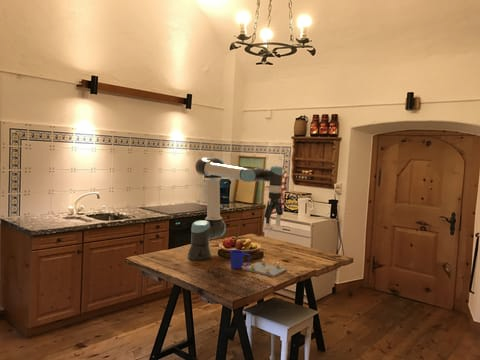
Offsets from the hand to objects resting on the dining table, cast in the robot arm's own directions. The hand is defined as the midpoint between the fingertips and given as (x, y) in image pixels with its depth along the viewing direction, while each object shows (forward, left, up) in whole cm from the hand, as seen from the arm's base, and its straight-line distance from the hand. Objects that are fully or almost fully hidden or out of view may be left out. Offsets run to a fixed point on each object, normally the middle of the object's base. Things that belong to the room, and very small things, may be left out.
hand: (273, 226), depth 244 cm
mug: (-14, -13, -26) cm, 32 cm away
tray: (0, -6, -26) cm, 26 cm away
